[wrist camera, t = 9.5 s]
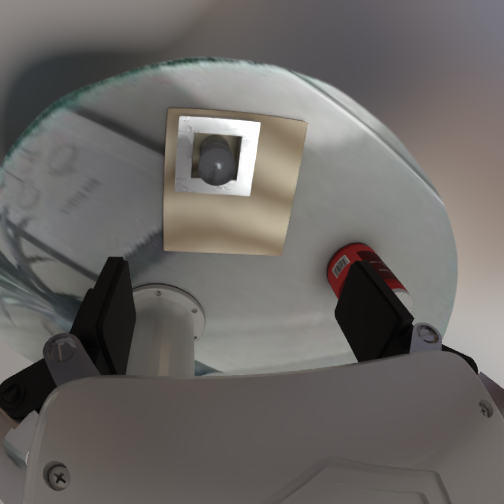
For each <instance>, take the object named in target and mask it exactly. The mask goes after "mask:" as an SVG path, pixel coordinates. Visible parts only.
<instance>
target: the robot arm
mask: <svg viewBox="0 0 504 504" xmlns="http://www.w3.org/2000/svg"><path fill="white" fill-rule="evenodd" d="M335 318H336V320H337V322H338V324H339V326H340V327H341V329H342V331H343V333H344V335H345V337H346V339H347V341H348V343H349V345H350V347H351V349H352V351H353V353H354V355H355V357H356V359H357V360H358V363H352V364H346V365H339V366H332V367H325V368H317V369H309V370H300V371H290V372H279V373H267V374H252V375H232V376H194V343H195V342H196V341H197V340H198V339H199V338H200V337H201V336H202V334H203V332H204V328H205V316H204V312H203V310H202V308H201V306H200V305H199V303H198V302H197V301H196V300H195V299H194V298H193V297H192V296H190V295H189V294H187V293H186V292H184V291H182V290H180V289H177V288H175V287H171V286H167V285H157V284H155V285H146V286H141V287H138V288H136V289H134V290H132V286H131V279H130V273H129V265H128V261H124V259H123V257H108V259H107V261H106V263H105V265H104V267H103V269H102V271H101V273H100V276H99V278H98V280H97V282H96V284H95V286H94V288H90V289H89V290H88V291H87V293H86V295H85V297H84V300H83V302H82V304H81V306H80V309H79V311H78V313H77V316H76V318H75V320H74V323H73V325H72V328H71V330H70V333H60V334H57V335H55V336H53V337H51V338H50V339H49V340H48V341H47V342H46V343H45V345H44V348H43V356H44V358H43V359H41V360H39V361H38V362H36V363H34V364H32V365H31V366H29V367H27V368H25V369H23V370H22V371H20V372H18V373H16V374H15V375H13V376H11V377H10V378H8V379H6V380H5V381H3V383H1V385H0V499H1V500H2V501H3V502H4V503H5V504H504V389H503V388H501V387H500V386H499V385H498V384H496V383H495V382H494V381H493V380H491V379H490V378H488V377H487V376H486V375H485V374H483V373H482V372H480V373H479V374H478V368H477V365H476V363H475V362H474V360H473V359H472V358H471V357H468V356H466V355H464V354H462V353H460V352H458V351H455V350H453V349H451V348H449V347H447V346H445V345H443V344H442V338H441V335H440V333H439V331H438V330H437V329H436V328H434V327H433V326H432V325H430V324H427V323H417V324H415V325H414V326H413V325H412V322H413V320H414V317H413V316H412V315H411V313H410V312H409V311H408V310H407V308H406V307H405V306H404V304H403V303H402V302H401V301H400V299H399V298H398V297H397V295H396V294H395V293H394V292H393V290H392V289H391V288H390V287H389V286H388V284H387V283H386V282H385V281H384V279H383V278H382V277H381V276H380V275H379V273H378V272H377V271H376V270H375V269H374V267H373V266H372V265H371V264H370V263H369V262H368V261H355V262H354V263H353V264H351V265H350V268H349V271H348V274H347V277H346V280H345V283H344V286H343V289H342V292H341V294H340V297H339V300H338V303H337V306H336V309H335ZM28 451H29V455H28V460H27V466H26V463H25V456H26V454H27V452H28Z"/></svg>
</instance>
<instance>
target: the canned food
mask: <svg viewBox="0 0 504 504" xmlns="http://www.w3.org/2000/svg"><path fill="white" fill-rule="evenodd" d="M355 261H368V262H369V263H370V264H371V265H372V266H373V267H374V269H375V270H376V271H377V272H378V273H379V275H380V276H381V277H382V278H383V279H384V281H385V282H386V283H387V284H388V286H389V287H390V288H391V289H392V290H393V292H394V293H395V294H396V295H397V297H398V298H399V299H400V301H401V302H402V303H403V304H404V306H405V307H406V308H407V310H408V311H409V312H410V313H411V310H412V306H413V301H412V298H411V296H410V294H409V293H408V291H407V290H406V289H405V287H404V286H403V285H402V284H401V282H400V281H399V280H398V279H397V278H396V276H395V275H394V274H393V273H392V272H391V270H390V269H389V268H388V267H387V266H386V265H385V263H384V262H383V261H382V260H381V259H380V258H379V256H378V255H377V254H376V253H375V252H374V251H373V250H372V249H371V248H370V247H368V246H366V245H363V244H359V243H357V244H351V245H348V246H346V247H344V248H342V249H341V250H340V251H338V252H337V253H336V254H335V256H334V257H333V258H332V260H331V262H330V264H329V266H328V280H329V283H330V285H331V287H332V289H333V291H334V293H335V294H336V296H337V298H338V300H339V297H340V294H341V292H342V289H343V286H344V283H345V280H346V277H347V274H348V271H349V268H350V265H351V264H353V263H354V262H355Z"/></svg>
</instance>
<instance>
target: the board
mask: <svg viewBox="0 0 504 504" xmlns="http://www.w3.org/2000/svg"><path fill="white" fill-rule="evenodd" d="M182 114H203V115H217V116H229V117H239V118H248V119H255V120H257V121H258V122H260V130H259V137H258V144H257V150H256V157H255V164H254V171H253V178H252V185H251V192H250V196H240V195H225V194H209V193H190V192H175V173H176V155H177V140H178V128H179V116H180V115H182ZM307 126H308V123H307V122H305V121H299V120H294V119H288V118H281V117H275V116H268V115H261V114H253V113H244V112H235V111H224V110H211V109H195V108H168V118H167V131H166V147H165V167H164V216H163V219H164V251H182V252H205V253H229V254H253V255H277V256H281V255H282V251H283V246H284V241H285V237H286V232H287V227H288V223H289V218H290V213H291V208H292V203H293V198H294V193H295V188H296V183H297V178H298V173H299V168H300V163H301V158H302V153H303V147H304V142H305V137H306V131H307ZM210 135H221V136H223V137H224V138H225V139H226V140H227V141H228V144H229V146H230V149H231V152H232V154H233V157H234V160H235V156H236V148H237V140H238V136H235V135H224V134H211V133H195V144H194V156H193V168H198V164H199V157H200V151H201V145H202V142H203V141H204V139H205V138H207V137H208V136H210Z"/></svg>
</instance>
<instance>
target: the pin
mask: <svg viewBox="0 0 504 504" xmlns="http://www.w3.org/2000/svg"><path fill="white" fill-rule="evenodd" d="M198 172H199V175H200V177H201V179H202V180H203V181H204V182H206V183H207V184H209V185H212V186H221V185H224V184H226V183H228V182H229V181H230V180H231V179H232V178H233V177H234V175H235V172H236V163H235V160H234V157H233V154H232V152H231V149H230V146H229V144H228V141H227V140H226V139H225V138H224V137H223V136H221V135H210V136H208V137H207V138H205V139H204V141H203V142H202V145H201V151H200V157H199V164H198Z"/></svg>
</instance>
